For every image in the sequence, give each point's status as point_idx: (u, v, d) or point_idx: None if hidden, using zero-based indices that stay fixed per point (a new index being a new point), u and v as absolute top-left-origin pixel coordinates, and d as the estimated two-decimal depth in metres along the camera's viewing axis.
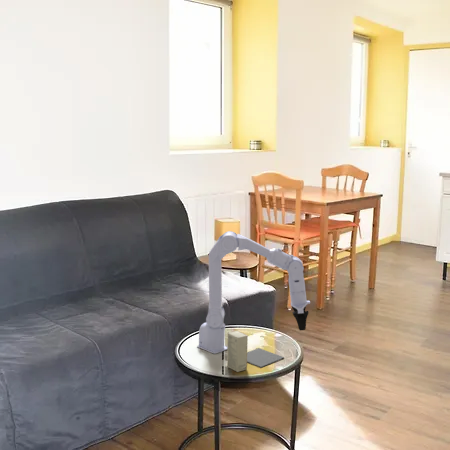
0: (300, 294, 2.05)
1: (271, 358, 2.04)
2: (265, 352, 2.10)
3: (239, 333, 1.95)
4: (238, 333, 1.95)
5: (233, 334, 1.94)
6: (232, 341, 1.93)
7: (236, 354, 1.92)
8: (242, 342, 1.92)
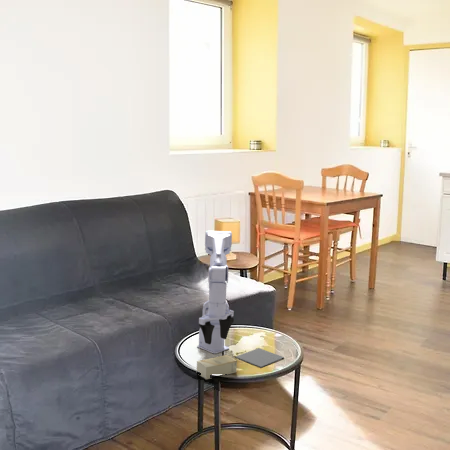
0: (213, 305, 1.87)
1: (271, 358, 2.04)
2: (265, 352, 2.10)
3: (201, 366, 1.88)
4: (200, 366, 1.88)
5: None
6: None
7: None
8: (211, 372, 1.86)
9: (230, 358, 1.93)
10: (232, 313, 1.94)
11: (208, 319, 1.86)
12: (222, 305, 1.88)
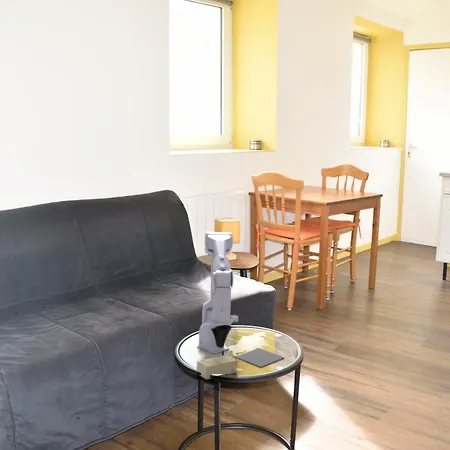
0: (217, 311, 1.83)
1: (271, 358, 2.04)
2: (265, 352, 2.10)
3: (201, 366, 1.88)
4: (200, 366, 1.88)
5: None
6: None
7: None
8: (211, 372, 1.86)
9: (230, 358, 1.93)
10: (237, 318, 1.90)
11: (212, 325, 1.82)
12: (226, 310, 1.83)
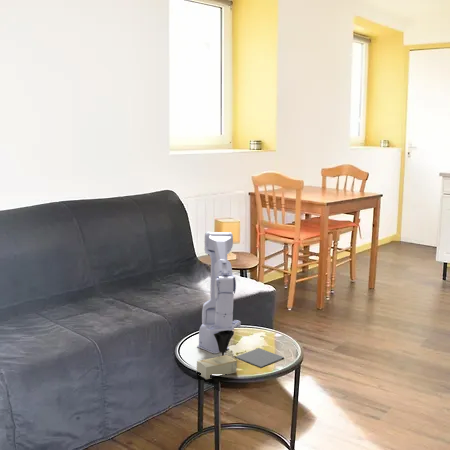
0: (220, 316, 1.84)
1: (271, 358, 2.04)
2: (265, 352, 2.10)
3: (201, 366, 1.88)
4: (200, 366, 1.88)
5: None
6: None
7: None
8: (211, 372, 1.86)
9: (230, 358, 1.93)
10: (239, 323, 1.92)
11: (215, 330, 1.83)
12: (229, 316, 1.85)
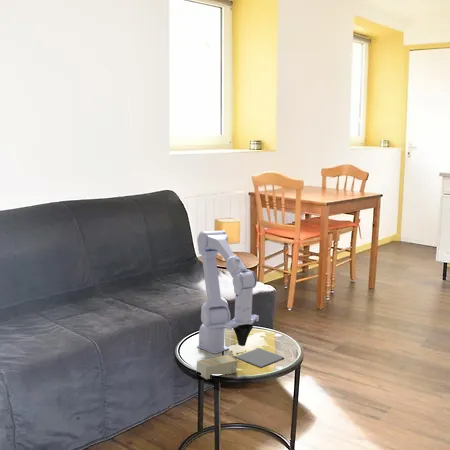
0: (239, 311, 1.91)
1: (271, 358, 2.04)
2: (265, 352, 2.10)
3: (201, 366, 1.88)
4: (200, 366, 1.88)
5: None
6: None
7: None
8: (211, 372, 1.86)
9: (230, 358, 1.93)
10: (257, 318, 1.98)
11: (235, 324, 1.90)
12: (248, 310, 1.91)
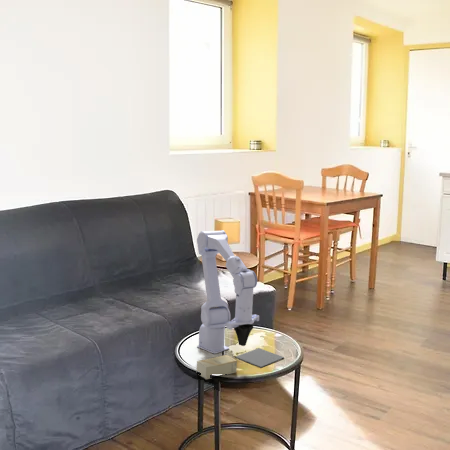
0: (240, 310, 1.91)
1: (271, 358, 2.04)
2: (265, 352, 2.10)
3: (201, 366, 1.88)
4: (200, 366, 1.88)
5: None
6: None
7: None
8: (211, 372, 1.86)
9: (230, 358, 1.93)
10: (258, 318, 1.99)
11: (235, 324, 1.90)
12: (249, 310, 1.92)
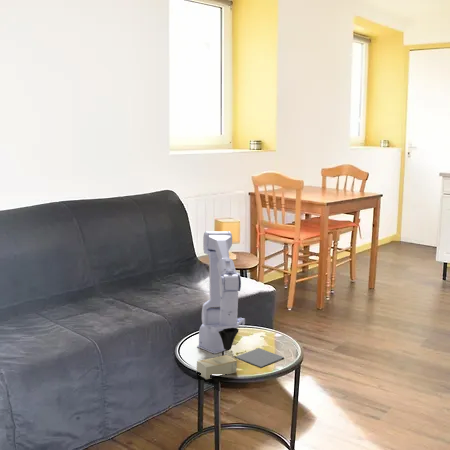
0: (224, 314, 1.86)
1: (271, 358, 2.04)
2: (265, 352, 2.10)
3: (201, 366, 1.88)
4: (200, 366, 1.88)
5: None
6: None
7: None
8: (211, 372, 1.86)
9: (230, 358, 1.93)
10: (243, 321, 1.94)
11: (220, 328, 1.85)
12: (234, 313, 1.87)
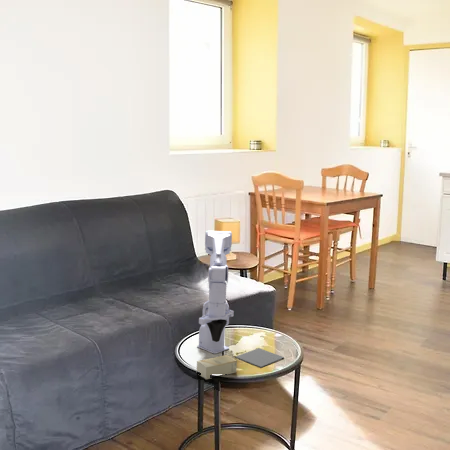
0: (213, 305, 1.87)
1: (271, 358, 2.04)
2: (265, 352, 2.10)
3: (201, 366, 1.88)
4: (200, 366, 1.88)
5: None
6: None
7: None
8: (211, 372, 1.86)
9: (230, 358, 1.93)
10: (232, 313, 1.94)
11: (208, 319, 1.86)
12: (222, 305, 1.88)
